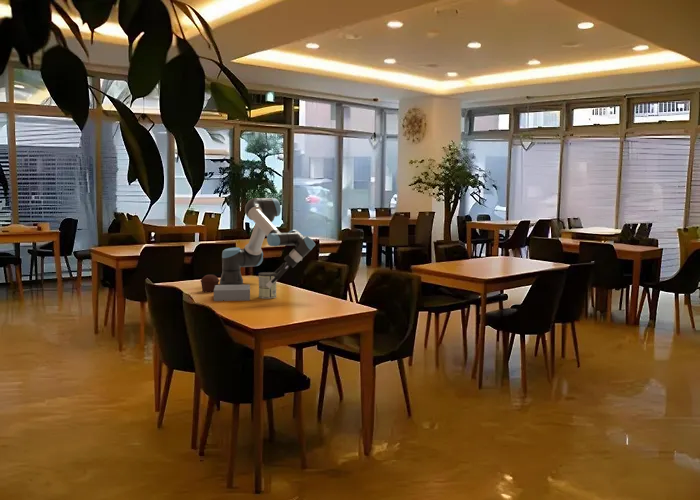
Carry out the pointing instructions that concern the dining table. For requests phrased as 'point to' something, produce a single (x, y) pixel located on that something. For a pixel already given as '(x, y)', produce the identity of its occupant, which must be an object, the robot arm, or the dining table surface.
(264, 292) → the coffee can
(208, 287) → the muffin
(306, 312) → the dining table surface
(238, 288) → the grey block
